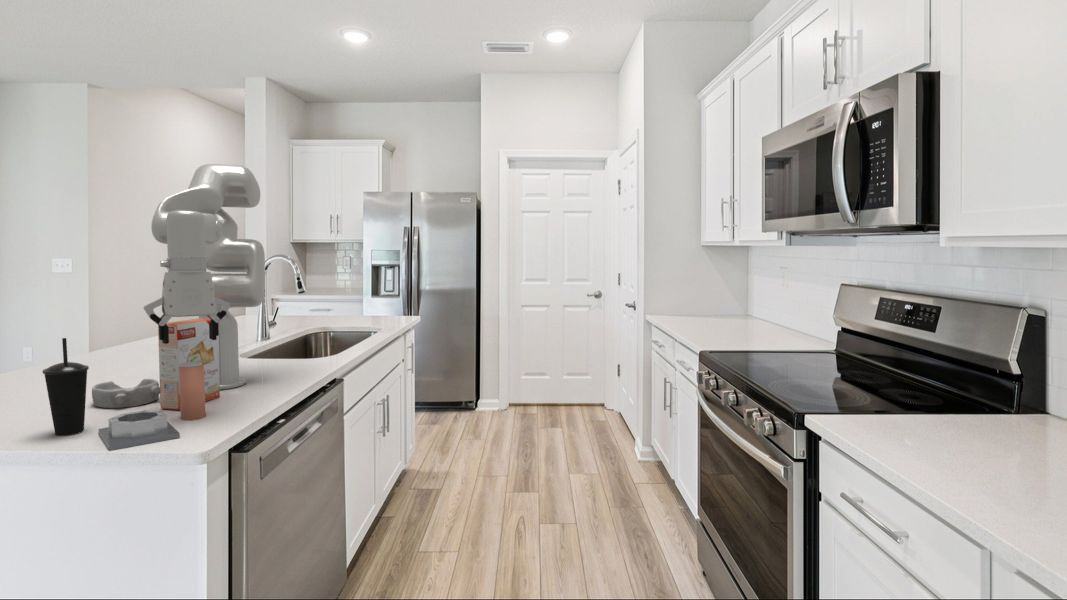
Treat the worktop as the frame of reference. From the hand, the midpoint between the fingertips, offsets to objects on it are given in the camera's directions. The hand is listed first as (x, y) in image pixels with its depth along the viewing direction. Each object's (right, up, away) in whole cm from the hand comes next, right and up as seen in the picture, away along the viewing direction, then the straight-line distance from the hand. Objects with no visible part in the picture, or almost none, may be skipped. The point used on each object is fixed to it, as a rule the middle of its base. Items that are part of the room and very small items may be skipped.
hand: (189, 341), depth 137 cm
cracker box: (-8, -17, +14) cm, 23 cm away
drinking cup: (-20, -19, -10) cm, 29 cm away
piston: (0, -18, +2) cm, 18 cm away
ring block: (-4, -19, -12) cm, 23 cm away
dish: (-24, -17, +14) cm, 33 cm away
